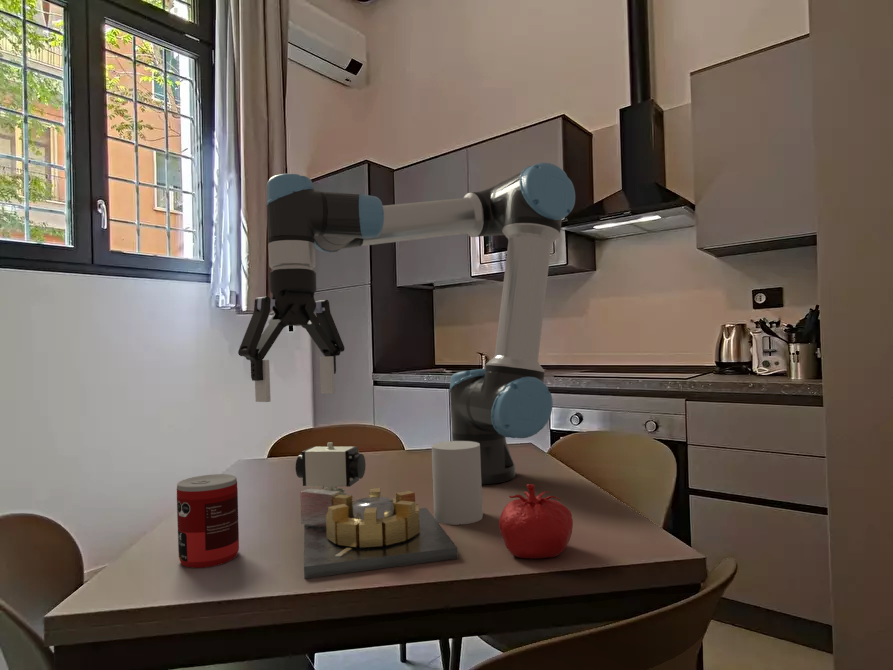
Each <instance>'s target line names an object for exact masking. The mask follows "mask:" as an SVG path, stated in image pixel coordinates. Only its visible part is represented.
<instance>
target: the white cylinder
mask: <svg viewBox="0 0 893 670" xmlns="http://www.w3.org/2000/svg"><path fill="white" fill-rule="evenodd" d="M431 464H432V465H431V466H432V467H431V468H432V470H431V472H432V489H433V491H432V497H433V498H432V499H433V517H434V518H435V519H436V521H437V522H438V523H439V524H444V525H455V526H456V525H457V526H458V525H459V524H461V525H468V524H473V523H476V522H479V521H481V520H483V517H484V514H483V511H484V510H483V494H482V493H483V492H482V491H483V490H482V485H483V484H481V459H480V444H479V443H477V442H471V441H452V440H450V441H448V440H447V441H442V442H437V443H433V444H432V445H431Z"/></svg>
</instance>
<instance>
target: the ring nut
mask: <svg viewBox="0 0 893 670" xmlns="http://www.w3.org/2000/svg"><path fill="white" fill-rule="evenodd" d="M381 489H382V488H381V487H375V488H370V489H369V493H368V494H369V497H382V496H381V494H382V491H381ZM299 493H300V523H301V524H302V525H304V524H306V525H314V526H321V527H326V534H327V538H328V539H329V540H330V541H332V542H333V543H335V544H337V543H338V545H343V546H350V547H358V546H360V547H376V546H383V544H384V545H390V544H394V543H398V542H402V541H406V539H410V538H411V537H413V536H414V535H416V534H418V533H419V532H420V526H419V508H420V507H419V504H418V503H416V493H415V492H414V491H411V490H406V491H401V492H395V498H394V497H392V498H391V497H390V498H391V499H393V502H394V516H390V517H385V518H381V519H377V507H375V508H365V511H364V520H362V519H353V502H354V501H355V500H353V495H348V494H347V495H340V493H339V491H329V490H324V489H318V488H307V489H304V490H301V491H299Z"/></svg>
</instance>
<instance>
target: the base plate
mask: <svg viewBox="0 0 893 670" xmlns="http://www.w3.org/2000/svg"><path fill="white" fill-rule="evenodd" d="M353 501H354V502H353V519H362V520H364V511H365V508H375V507H377V519H381V518H385V517H390V516H394V502H393V499H391V497H386V496H381V497H370V496H369V497H364V498H359V499H356V500H353ZM303 525H304V526H303V528H304V529H303V535H304V536H303V539H304V540H303V541H304V542H303V576H304V579H312V578H319V577H320V578H321V577H329V576H335V575H342V574H343V575H344V574H350V573H357V572H358V573H359V572H365V571H372V570H373V571H374V570H375V571H376V570H381V569H389V568H397V567H403V566H412V565H418V564H419V565H420V564H426V563H432V562H433V563H435V562H443V561H450V560H457V559H458V558H459V557H458V547H457V545H456V544H455V542H453V540H452V539H451V537H450V536H449V535H448V533H447V532H446V531H445V530H444V528H443V526H442V525H440V522H437V521H436V519H435V518H434V515H433V514H432V513H431V511H430V510H429V509H428V508H427V507H419V526H420V532H419V533H418V534H416V535H414V536H413V537H411V538H410V539H406V541H402V542H398V543H394V544H390V545H384V544H383V546H376V547H360V546H358V547H350V546H343V545H338V543H337V544H335V543H333V542H332V541H330V540H329V539H328V538H327V534H326V527H321V526H314V525H306V524H303Z"/></svg>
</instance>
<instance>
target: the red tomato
mask: <svg viewBox="0 0 893 670" xmlns="http://www.w3.org/2000/svg"><path fill="white" fill-rule="evenodd" d="M535 487H536V486H535V484H532V483H527V484H526V488H527V490H528V491H527V490H526V491H523V494H524V495H525V496H523V495H522V494H514V495H509V498H510V499H513V500H511V501H510V502H508V503H507V504H506V505H505V507H504V508H503V509H502V511H501V514H500V517H499V521H498V527H499V531H500V535H501V536H502V538H503V540H504V543H505V546H506V547H505V548H506V549H507V550H508V552H510V554H512V555H513V556H514V557H517V558H521V559H533V560H534V559H535V560H536V559H544V558H554V557H557V556H558V555H560V554H561V553H563V552H564V551H565V550H566V548H567V547H568V544H569V542H570V541H571V537H572V533H573V525H574V523H573V522H574V521H573V514H572V511H571V510H570V509H569V508H568V507H567V506H565V505H564V504H562V503H561V502H560V501H561V500H562V498H559V497H557V496H555V495H548V496H547V497H543V495H544V494H549V493H551V492H550V491H542V492H540V493H539V494H538V495H536V491H535ZM525 497H526V498H525ZM555 499H557V500H555ZM558 500H560V501H558Z"/></svg>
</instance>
